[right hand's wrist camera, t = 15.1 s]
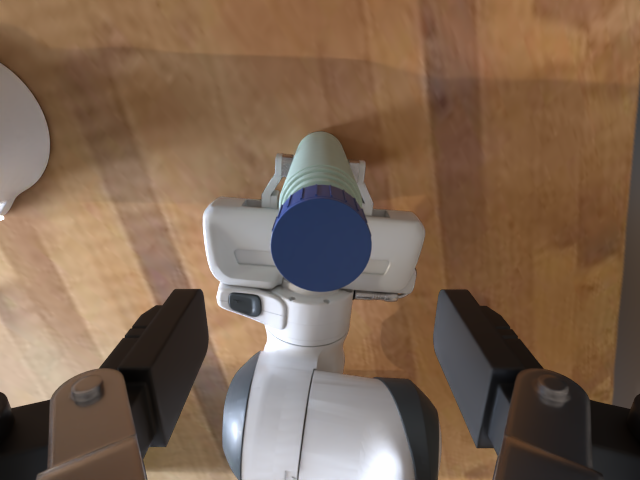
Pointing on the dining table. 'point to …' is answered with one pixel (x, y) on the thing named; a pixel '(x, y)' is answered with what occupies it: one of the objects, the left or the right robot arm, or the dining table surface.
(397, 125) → the dining table surface
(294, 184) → the bottle
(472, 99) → the dining table surface
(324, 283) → the cap
